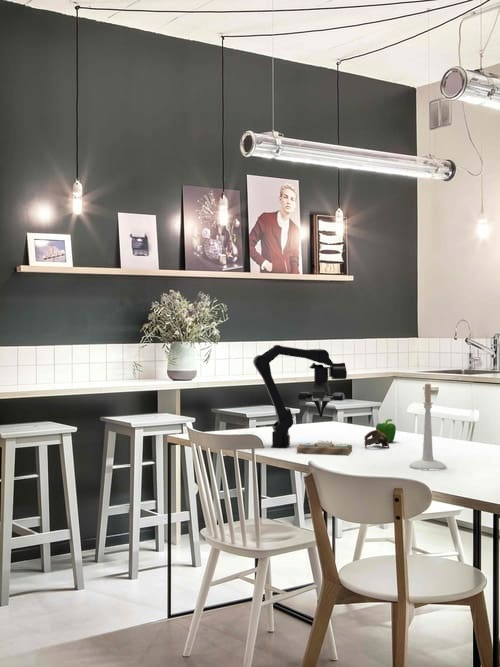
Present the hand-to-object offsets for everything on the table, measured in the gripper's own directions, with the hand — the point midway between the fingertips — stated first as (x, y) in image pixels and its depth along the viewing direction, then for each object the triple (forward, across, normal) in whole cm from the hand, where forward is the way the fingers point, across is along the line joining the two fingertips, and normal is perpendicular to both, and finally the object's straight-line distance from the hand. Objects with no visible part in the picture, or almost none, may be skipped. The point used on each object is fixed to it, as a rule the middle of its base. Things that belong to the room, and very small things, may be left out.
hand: (321, 417), depth 356 cm
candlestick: (+12, +45, -42) cm, 63 cm away
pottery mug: (+12, +23, +1) cm, 26 cm away
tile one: (+11, -2, -16) cm, 20 cm away
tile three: (+11, +10, -16) cm, 22 cm away
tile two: (+10, +4, -16) cm, 19 cm away
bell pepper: (+12, +25, +17) cm, 33 cm away
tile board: (+12, +4, -16) cm, 20 cm away
